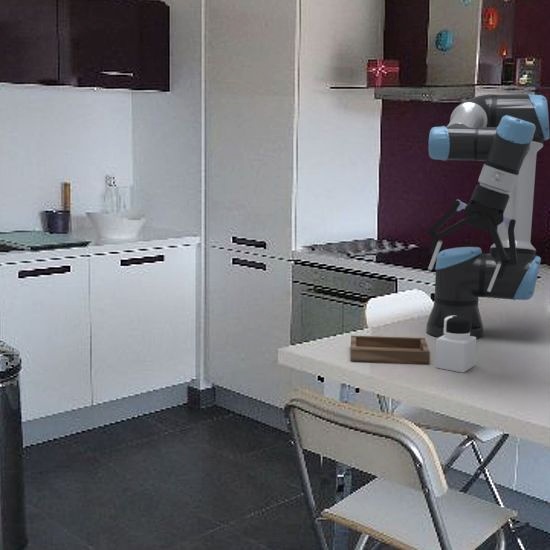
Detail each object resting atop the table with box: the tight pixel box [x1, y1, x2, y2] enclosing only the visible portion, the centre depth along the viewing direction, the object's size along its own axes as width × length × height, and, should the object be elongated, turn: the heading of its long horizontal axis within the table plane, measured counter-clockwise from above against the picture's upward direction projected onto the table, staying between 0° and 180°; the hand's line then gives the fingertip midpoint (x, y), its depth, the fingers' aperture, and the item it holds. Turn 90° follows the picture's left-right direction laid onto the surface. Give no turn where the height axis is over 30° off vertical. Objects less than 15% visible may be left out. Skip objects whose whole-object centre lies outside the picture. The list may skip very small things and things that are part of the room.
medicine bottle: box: [434, 315, 477, 373], centre depth 197 cm, size 7×7×12 cm
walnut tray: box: [350, 335, 431, 365], centre depth 206 cm, size 13×18×3 cm
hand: (459, 279), depth 187 cm, fingers open, 13 cm apart
